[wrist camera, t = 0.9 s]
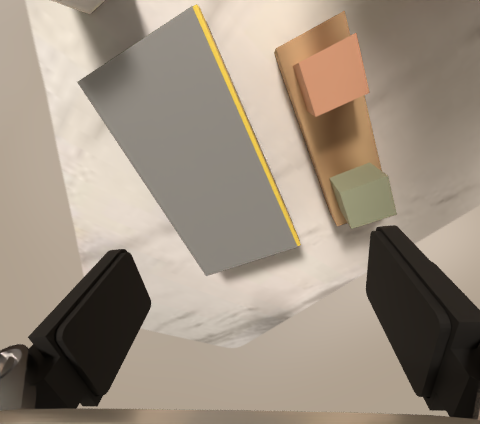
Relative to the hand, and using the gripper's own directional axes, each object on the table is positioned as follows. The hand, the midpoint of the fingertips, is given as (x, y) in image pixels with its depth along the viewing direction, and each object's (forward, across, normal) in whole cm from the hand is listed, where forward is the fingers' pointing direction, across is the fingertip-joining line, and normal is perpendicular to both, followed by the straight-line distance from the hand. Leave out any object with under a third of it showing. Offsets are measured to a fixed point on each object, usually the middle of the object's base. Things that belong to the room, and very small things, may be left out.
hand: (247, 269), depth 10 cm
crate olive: (+20, -11, +6) cm, 24 cm away
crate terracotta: (+20, -7, -6) cm, 22 cm away
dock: (+24, +6, +1) cm, 25 cm away
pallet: (+24, -9, 0) cm, 26 cm away
